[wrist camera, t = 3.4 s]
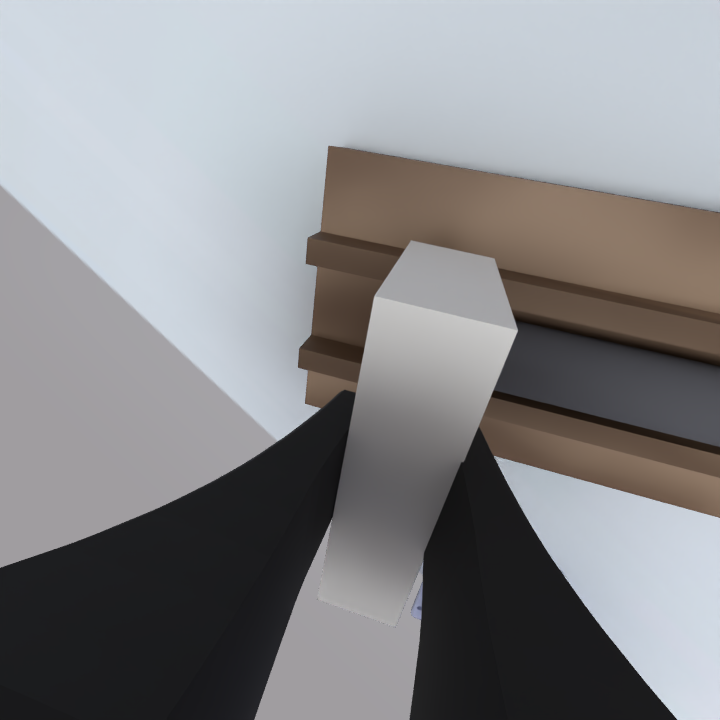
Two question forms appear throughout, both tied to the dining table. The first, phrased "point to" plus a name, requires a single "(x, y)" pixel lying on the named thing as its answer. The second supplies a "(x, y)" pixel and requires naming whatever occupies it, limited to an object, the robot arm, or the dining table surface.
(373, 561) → the grey bracket
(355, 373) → the channel deck
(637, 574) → the dining table surface
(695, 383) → the grey slider with block
